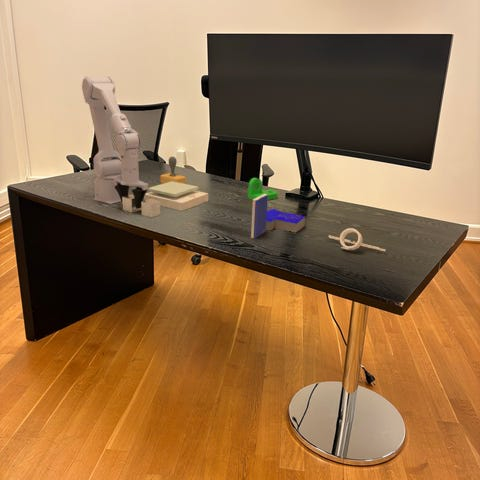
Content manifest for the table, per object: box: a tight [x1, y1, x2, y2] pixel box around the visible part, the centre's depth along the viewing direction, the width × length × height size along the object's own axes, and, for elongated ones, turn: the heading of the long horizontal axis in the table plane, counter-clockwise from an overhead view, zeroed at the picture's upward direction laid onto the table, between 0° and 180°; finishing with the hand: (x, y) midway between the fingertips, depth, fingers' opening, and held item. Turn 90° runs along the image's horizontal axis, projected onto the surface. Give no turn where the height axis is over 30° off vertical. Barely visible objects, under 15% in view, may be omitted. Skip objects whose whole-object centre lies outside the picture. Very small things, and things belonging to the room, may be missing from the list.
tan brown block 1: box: [121, 193, 142, 213], centre depth 165 cm, size 4×4×5 cm
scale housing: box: [143, 190, 209, 212], centre depth 177 cm, size 18×16×4 cm
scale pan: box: [147, 181, 199, 197], centre depth 177 cm, size 13×14×1 cm
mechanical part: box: [247, 177, 278, 201], centre depth 186 cm, size 12×6×8 cm, turn 129°
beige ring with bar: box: [328, 227, 386, 253], centre depth 138 cm, size 18×10×6 cm
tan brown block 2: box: [141, 199, 161, 218], centre depth 161 cm, size 4×4×5 cm
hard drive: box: [250, 194, 268, 239], centre depth 145 cm, size 2×8×12 cm, turn 152°
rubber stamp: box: [160, 156, 187, 184], centre depth 200 cm, size 10×6×12 cm, turn 53°
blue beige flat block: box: [266, 208, 306, 234], centre depth 155 cm, size 11×15×5 cm
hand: (131, 206), depth 166 cm, fingers open, 6 cm apart
